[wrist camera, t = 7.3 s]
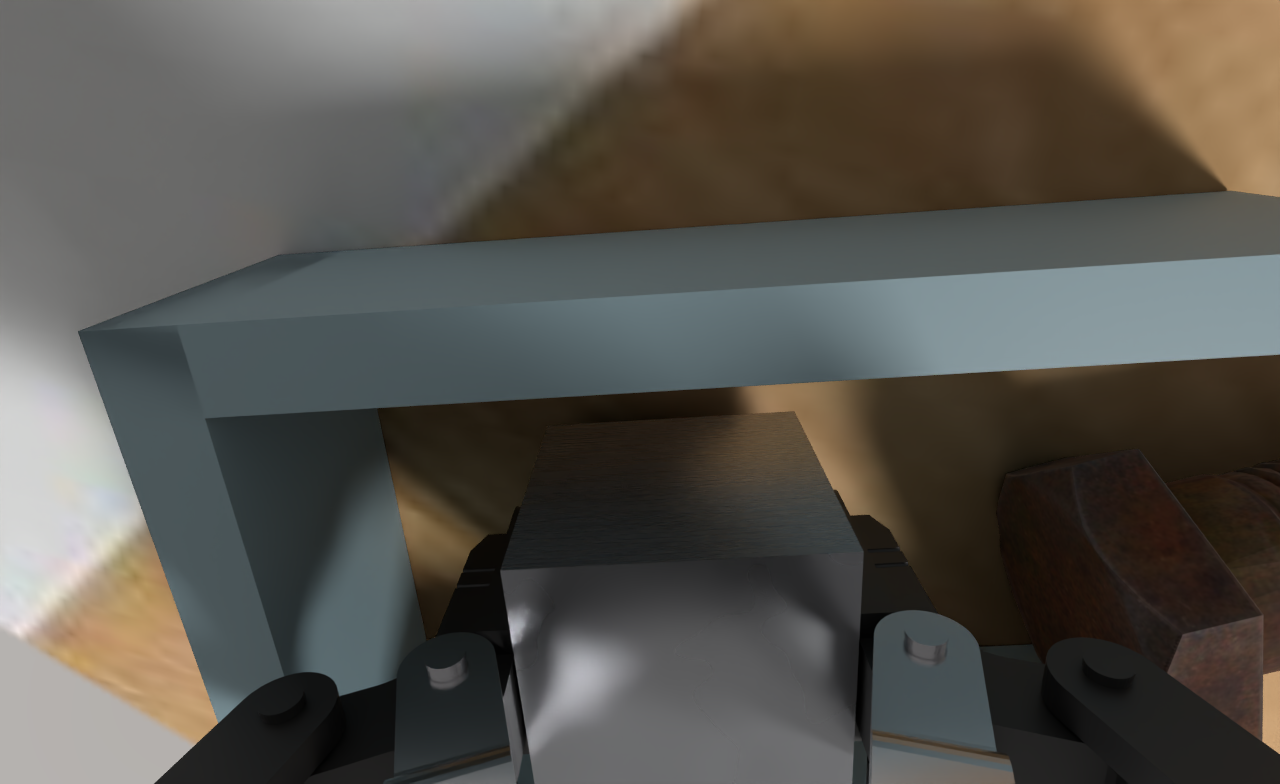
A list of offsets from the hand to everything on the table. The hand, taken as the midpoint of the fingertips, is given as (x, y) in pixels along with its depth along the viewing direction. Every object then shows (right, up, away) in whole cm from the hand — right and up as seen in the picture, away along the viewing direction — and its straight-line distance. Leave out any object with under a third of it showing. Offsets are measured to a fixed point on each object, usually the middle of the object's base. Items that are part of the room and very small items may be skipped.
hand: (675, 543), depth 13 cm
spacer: (0, 0, +1) cm, 1 cm away
